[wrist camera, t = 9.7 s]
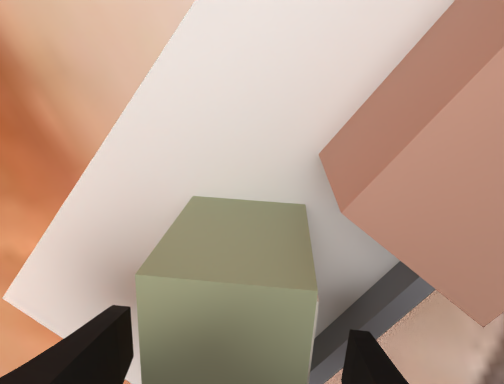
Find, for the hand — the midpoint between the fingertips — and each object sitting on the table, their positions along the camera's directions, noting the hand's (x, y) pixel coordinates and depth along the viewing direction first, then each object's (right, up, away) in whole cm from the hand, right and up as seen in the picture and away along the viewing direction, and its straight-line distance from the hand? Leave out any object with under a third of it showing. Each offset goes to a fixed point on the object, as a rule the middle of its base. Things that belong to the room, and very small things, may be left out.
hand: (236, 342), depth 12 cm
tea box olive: (0, +1, +4) cm, 4 cm away
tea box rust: (+7, +7, +1) cm, 10 cm away
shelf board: (+1, +4, +4) cm, 6 cm away
